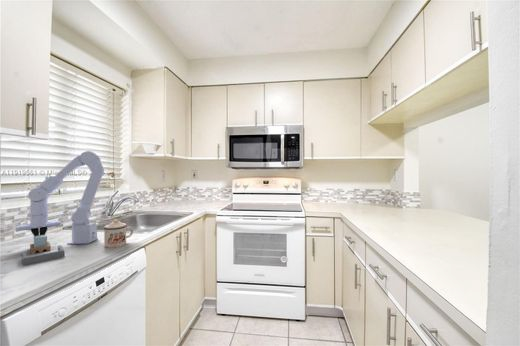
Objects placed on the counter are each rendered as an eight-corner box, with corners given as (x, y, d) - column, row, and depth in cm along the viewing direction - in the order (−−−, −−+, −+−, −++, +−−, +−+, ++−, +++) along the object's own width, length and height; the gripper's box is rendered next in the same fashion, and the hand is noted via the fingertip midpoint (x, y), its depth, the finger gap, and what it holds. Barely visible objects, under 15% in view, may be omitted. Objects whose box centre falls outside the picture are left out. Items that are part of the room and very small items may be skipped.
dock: (22, 258, 89) (22, 252, 89) (61, 251, 98) (61, 245, 98) (23, 265, 83) (23, 258, 83) (64, 256, 92) (64, 250, 92)
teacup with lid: (105, 249, 100) (105, 223, 100) (102, 244, 107) (101, 219, 107) (135, 243, 109) (135, 219, 109) (130, 239, 115) (130, 216, 115)
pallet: (30, 248, 100) (30, 244, 100) (48, 245, 105) (48, 241, 105) (31, 254, 94) (31, 249, 94) (50, 250, 99) (50, 245, 99)
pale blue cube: (33, 245, 99) (33, 236, 99) (46, 243, 102) (46, 234, 102) (34, 247, 96) (34, 238, 96) (47, 245, 99) (47, 236, 99)
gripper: (59, 211, 111) (59, 239, 112) (15, 215, 101) (15, 246, 101) (61, 213, 107) (61, 242, 107) (15, 217, 96) (15, 249, 96)
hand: (39, 244), depth 103 cm, fingers closed, pressing on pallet
